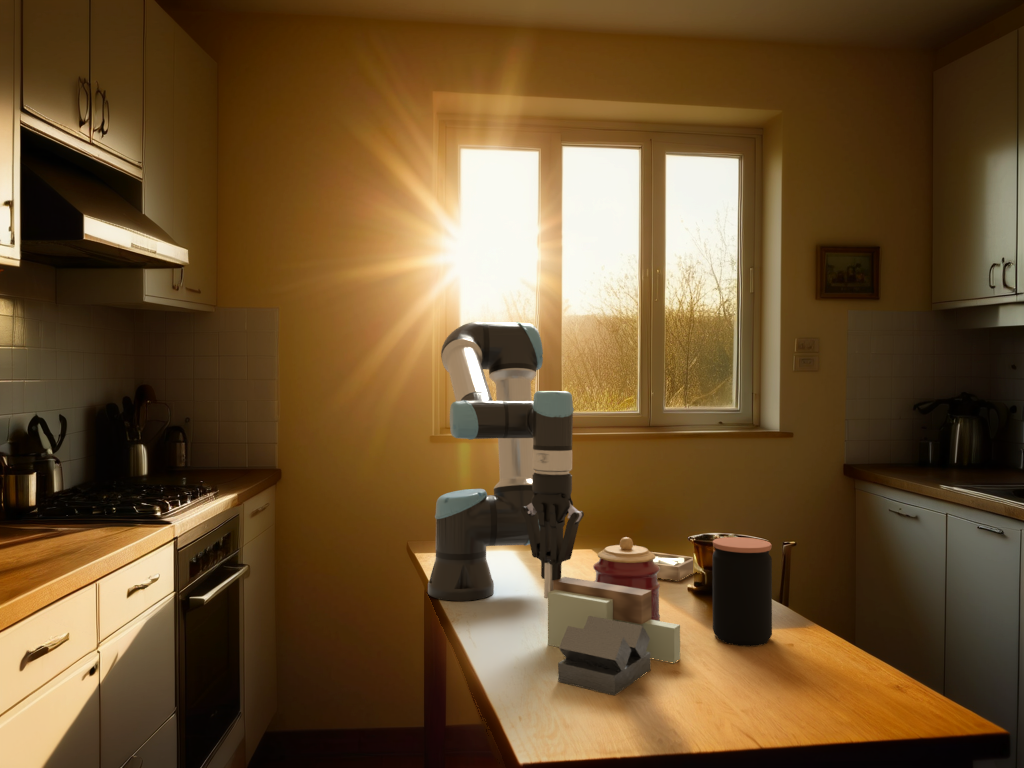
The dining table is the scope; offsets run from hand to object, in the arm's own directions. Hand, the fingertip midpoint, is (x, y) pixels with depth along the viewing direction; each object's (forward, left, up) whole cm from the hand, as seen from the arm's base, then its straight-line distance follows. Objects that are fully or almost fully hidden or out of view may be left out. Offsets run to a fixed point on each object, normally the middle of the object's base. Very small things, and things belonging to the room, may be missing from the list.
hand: (550, 596), depth 148 cm
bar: (+11, 0, -1) cm, 11 cm away
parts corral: (-4, +60, -7) cm, 61 cm away
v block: (+18, -13, -7) cm, 23 cm away
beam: (+14, 0, -7) cm, 16 cm away
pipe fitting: (-3, +62, -8) cm, 62 cm away
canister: (+9, +13, -8) cm, 18 cm away
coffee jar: (+30, +19, -8) cm, 37 cm away
